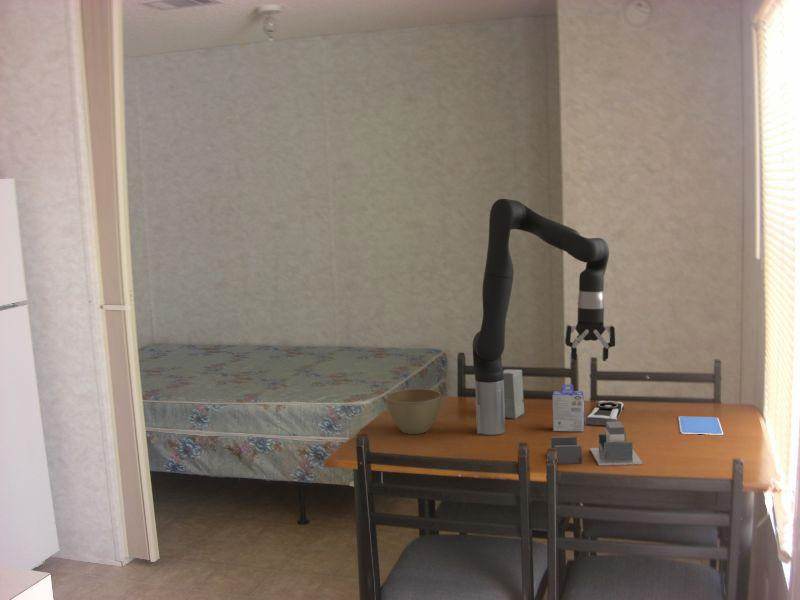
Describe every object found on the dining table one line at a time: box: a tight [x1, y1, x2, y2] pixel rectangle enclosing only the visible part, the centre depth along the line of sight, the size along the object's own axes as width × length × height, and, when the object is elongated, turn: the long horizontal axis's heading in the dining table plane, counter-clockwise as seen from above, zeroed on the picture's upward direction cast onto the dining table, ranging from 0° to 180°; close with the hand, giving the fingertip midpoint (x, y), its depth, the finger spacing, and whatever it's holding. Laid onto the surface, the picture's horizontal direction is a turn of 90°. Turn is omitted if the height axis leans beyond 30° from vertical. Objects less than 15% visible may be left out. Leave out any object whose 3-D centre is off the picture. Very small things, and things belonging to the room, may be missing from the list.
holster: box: [550, 435, 583, 465], centre depth 233 cm, size 7×9×5 cm
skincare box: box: [503, 368, 525, 420], centre depth 281 cm, size 8×7×16 cm
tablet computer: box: [678, 415, 724, 435], centre depth 258 cm, size 19×13×1 cm, turn 163°
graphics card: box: [584, 400, 625, 427], centre depth 274 cm, size 10×3×25 cm
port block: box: [589, 432, 643, 466], centre depth 232 cm, size 12×14×6 cm
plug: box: [605, 421, 626, 442], centre depth 232 cm, size 4×6×9 cm, turn 177°
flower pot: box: [385, 388, 442, 435], centre depth 267 cm, size 18×18×12 cm
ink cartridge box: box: [551, 384, 585, 432], centre depth 261 cm, size 10×6×14 cm, turn 78°
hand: (589, 360), depth 240 cm, fingers open, 8 cm apart
